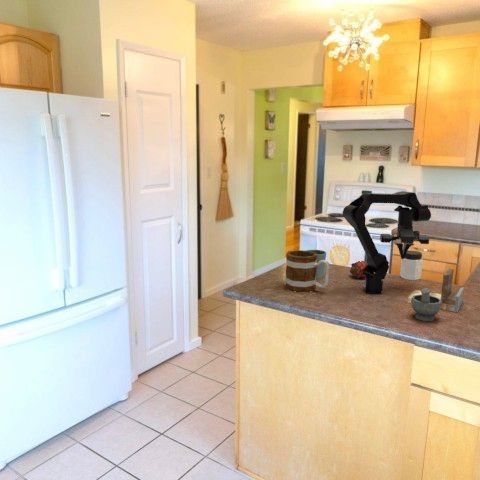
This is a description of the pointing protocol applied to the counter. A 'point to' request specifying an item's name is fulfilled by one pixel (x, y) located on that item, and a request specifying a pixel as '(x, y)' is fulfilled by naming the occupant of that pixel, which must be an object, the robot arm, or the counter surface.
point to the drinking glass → (320, 268)
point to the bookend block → (448, 288)
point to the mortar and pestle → (425, 305)
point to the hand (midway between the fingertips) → (402, 258)
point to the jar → (411, 265)
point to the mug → (303, 271)
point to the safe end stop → (459, 299)
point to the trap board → (443, 306)
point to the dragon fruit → (358, 269)
